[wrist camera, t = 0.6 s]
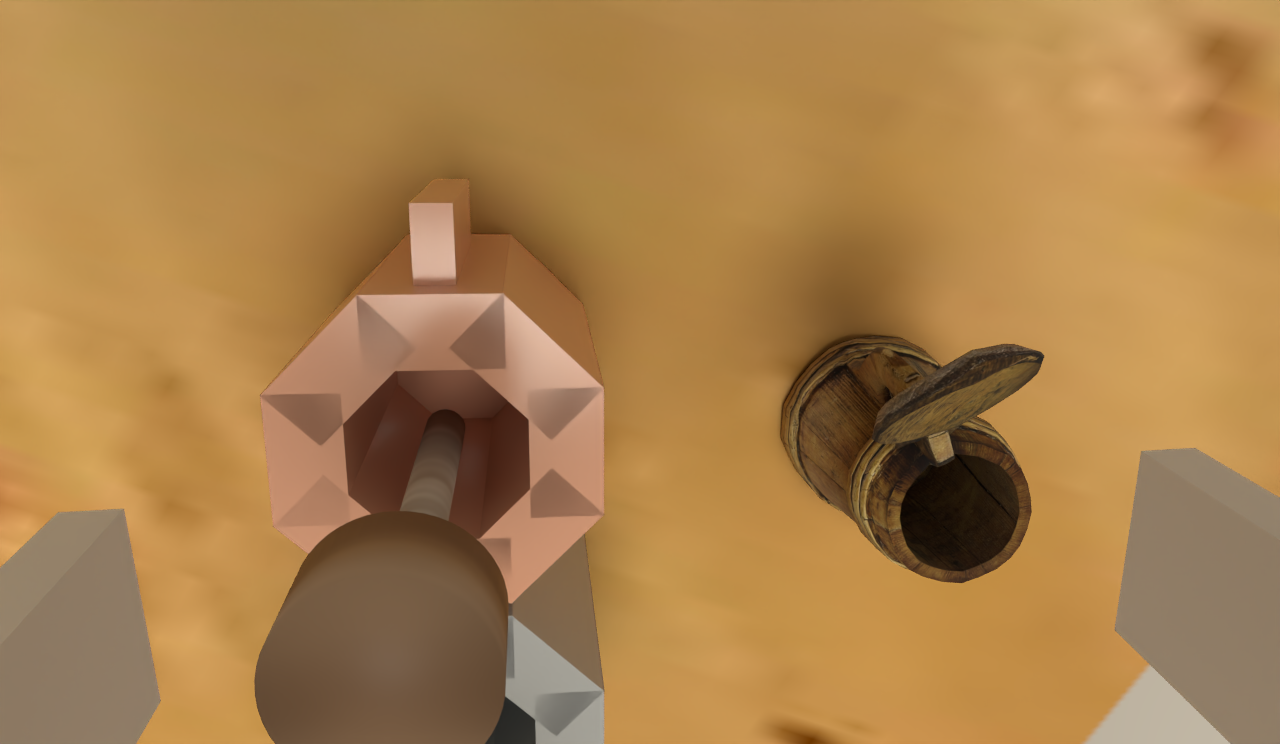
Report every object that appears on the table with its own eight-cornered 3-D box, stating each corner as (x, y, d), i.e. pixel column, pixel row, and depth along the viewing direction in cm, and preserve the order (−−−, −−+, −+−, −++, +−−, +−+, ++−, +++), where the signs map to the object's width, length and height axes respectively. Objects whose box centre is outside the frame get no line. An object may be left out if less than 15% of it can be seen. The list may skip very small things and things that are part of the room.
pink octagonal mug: (329, 171, 43) (240, 208, 30) (581, 172, 44) (604, 208, 31) (351, 464, 47) (281, 613, 34) (583, 457, 48) (604, 599, 35)
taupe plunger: (370, 362, 35) (242, 582, 19) (513, 359, 35) (502, 571, 20) (379, 494, 36) (266, 799, 21) (517, 489, 37) (508, 783, 21)
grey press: (352, 473, 47) (282, 626, 34) (583, 466, 48) (604, 611, 35) (370, 722, 51) (314, 947, 38) (584, 709, 52) (604, 924, 39)
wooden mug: (901, 221, 47) (1119, 298, 30) (975, 466, 51) (1204, 660, 34) (727, 291, 47) (842, 409, 30) (813, 531, 51) (960, 758, 34)
